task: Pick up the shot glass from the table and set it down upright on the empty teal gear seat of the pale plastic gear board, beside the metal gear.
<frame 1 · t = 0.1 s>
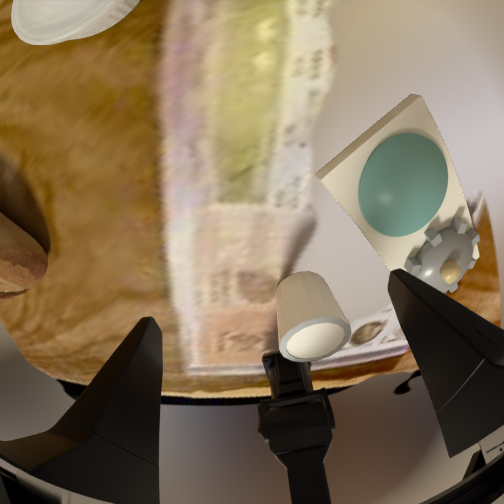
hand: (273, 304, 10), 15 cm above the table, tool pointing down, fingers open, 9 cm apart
bread roll: (8, 230, 22), on the table
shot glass: (300, 290, 30), on the table
gear board: (419, 220, 25), on the table
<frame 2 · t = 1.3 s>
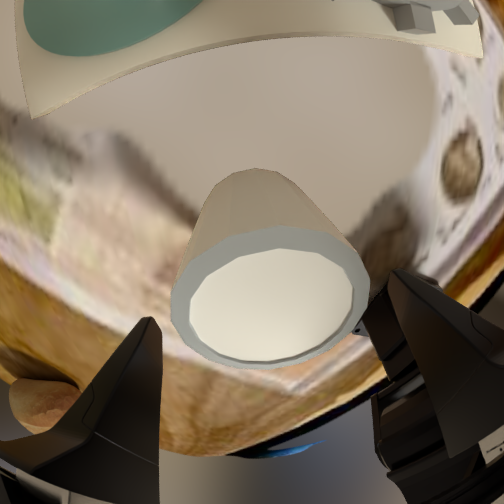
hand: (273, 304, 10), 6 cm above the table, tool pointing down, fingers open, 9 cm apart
bread roll: (52, 384, 26), on the table
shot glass: (254, 217, 15), on the table
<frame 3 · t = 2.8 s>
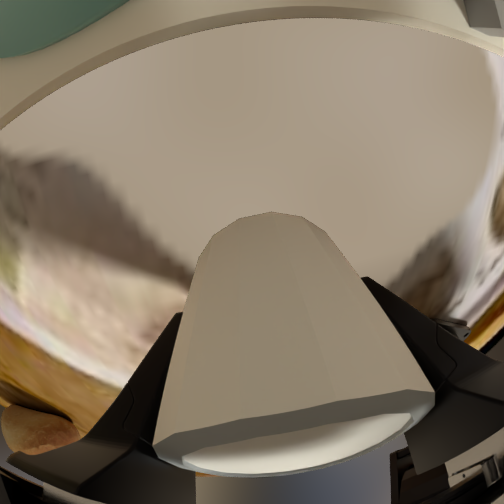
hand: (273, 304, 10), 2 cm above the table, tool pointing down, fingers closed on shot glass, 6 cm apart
bread roll: (45, 413, 22), on the table
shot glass: (268, 273, 11), on the table, touching gripper
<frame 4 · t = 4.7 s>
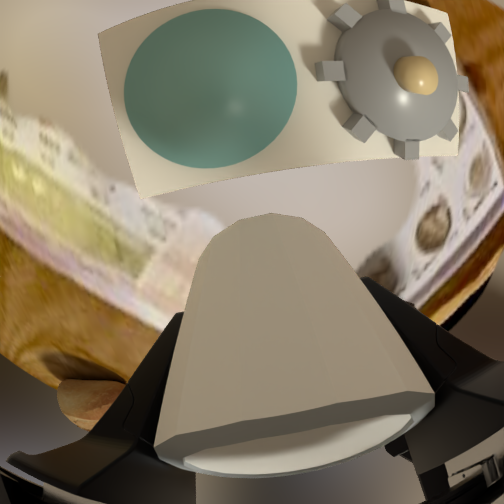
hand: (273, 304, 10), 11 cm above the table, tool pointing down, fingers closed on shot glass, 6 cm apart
bread roll: (98, 384, 34), on the table
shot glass: (268, 274, 11), point 9 cm above the table, touching gripper
gear board: (304, 73, 14), on the table
when the fingers open (4 cm above the table, at t = 7.1 s): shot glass stays where it is, resting on gear board.
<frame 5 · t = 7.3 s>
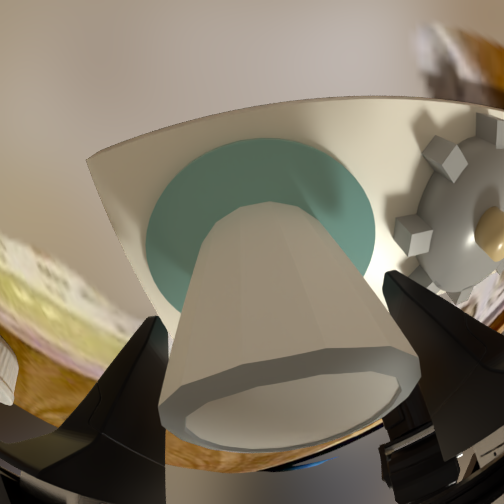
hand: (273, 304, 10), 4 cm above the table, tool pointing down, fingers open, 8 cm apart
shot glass: (265, 260, 12), point 2 cm above the table, touching gear board
gear board: (375, 214, 13), on the table
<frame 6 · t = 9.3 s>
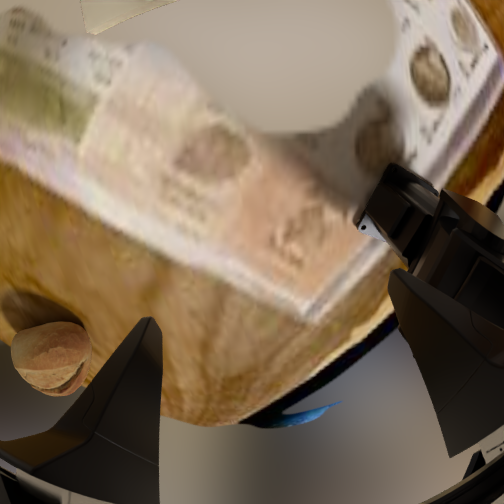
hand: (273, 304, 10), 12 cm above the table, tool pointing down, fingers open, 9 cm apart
bread roll: (58, 334, 28), on the table
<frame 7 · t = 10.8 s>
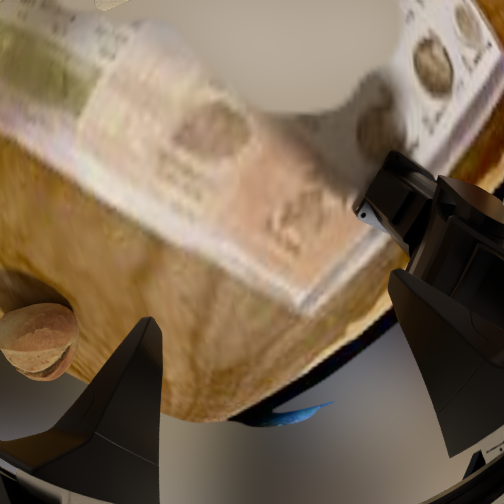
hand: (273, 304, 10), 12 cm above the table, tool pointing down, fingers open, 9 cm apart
bread roll: (46, 318, 27), on the table
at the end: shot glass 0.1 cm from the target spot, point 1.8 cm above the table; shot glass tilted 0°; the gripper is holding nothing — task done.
